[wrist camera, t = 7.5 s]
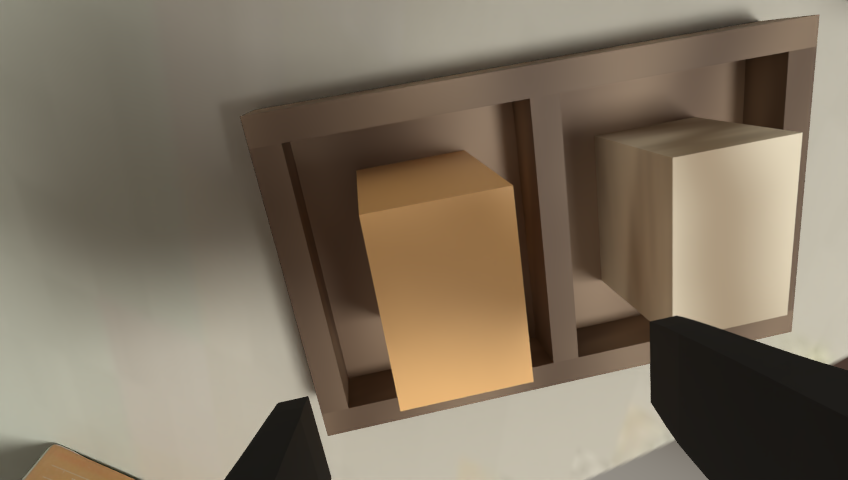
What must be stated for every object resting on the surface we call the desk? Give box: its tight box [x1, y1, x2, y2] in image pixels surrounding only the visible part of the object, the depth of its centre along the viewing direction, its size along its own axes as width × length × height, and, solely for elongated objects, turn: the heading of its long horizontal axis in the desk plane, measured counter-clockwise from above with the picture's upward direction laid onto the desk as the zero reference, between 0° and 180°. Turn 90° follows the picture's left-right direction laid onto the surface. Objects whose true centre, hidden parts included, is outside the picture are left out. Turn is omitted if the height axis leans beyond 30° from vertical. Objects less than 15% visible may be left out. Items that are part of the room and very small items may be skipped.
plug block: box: [356, 150, 534, 411], centre depth 17 cm, size 4×6×6 cm, turn 9°
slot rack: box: [240, 15, 819, 436], centre depth 20 cm, size 19×12×3 cm, turn 99°
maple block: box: [594, 117, 803, 329], centre depth 18 cm, size 4×6×5 cm, turn 9°
